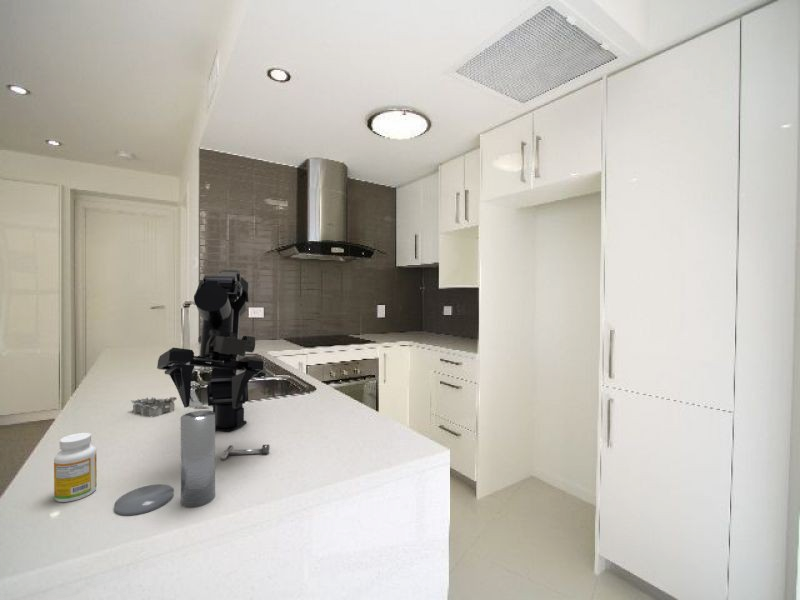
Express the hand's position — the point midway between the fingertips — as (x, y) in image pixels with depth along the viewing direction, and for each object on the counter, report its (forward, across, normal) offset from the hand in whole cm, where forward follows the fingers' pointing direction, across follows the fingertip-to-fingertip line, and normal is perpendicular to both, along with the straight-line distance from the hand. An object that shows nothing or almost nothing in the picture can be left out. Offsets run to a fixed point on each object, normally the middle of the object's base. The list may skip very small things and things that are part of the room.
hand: (212, 407), depth 70 cm
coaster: (+14, -8, +4) cm, 17 cm away
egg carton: (-8, +7, +49) cm, 50 cm away
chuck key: (+8, +10, +6) cm, 15 cm away
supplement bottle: (+12, -15, +14) cm, 24 cm away
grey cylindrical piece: (+15, -2, -2) cm, 16 cm away
